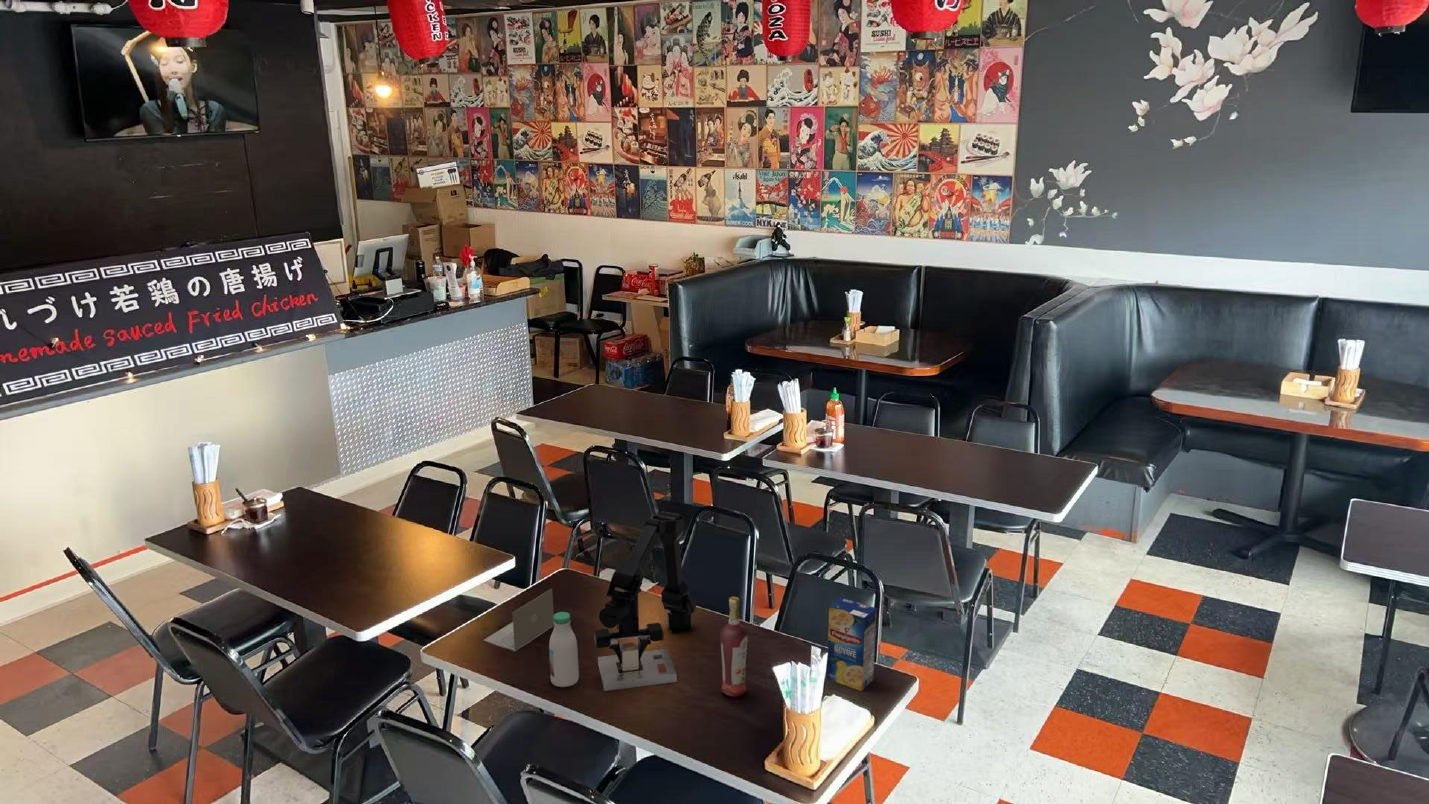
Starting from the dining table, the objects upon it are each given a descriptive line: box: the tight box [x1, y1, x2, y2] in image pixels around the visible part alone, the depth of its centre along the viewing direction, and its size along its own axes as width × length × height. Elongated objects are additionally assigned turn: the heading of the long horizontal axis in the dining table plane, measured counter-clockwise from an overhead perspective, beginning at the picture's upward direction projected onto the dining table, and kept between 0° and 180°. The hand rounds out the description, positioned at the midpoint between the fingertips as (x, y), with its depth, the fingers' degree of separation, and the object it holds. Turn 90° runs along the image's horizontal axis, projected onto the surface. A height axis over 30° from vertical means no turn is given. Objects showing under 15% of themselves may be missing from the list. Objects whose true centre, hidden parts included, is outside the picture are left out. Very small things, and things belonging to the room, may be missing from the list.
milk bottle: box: [548, 611, 580, 688], centre depth 278 cm, size 8×8×20 cm
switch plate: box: [597, 648, 678, 692], centre depth 284 cm, size 20×14×3 cm
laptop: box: [483, 588, 555, 652], centre depth 305 cm, size 18×12×13 cm
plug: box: [619, 641, 640, 672], centre depth 282 cm, size 4×4×7 cm
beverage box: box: [826, 597, 877, 692], centre depth 278 cm, size 7×11×22 cm, turn 54°
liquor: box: [719, 596, 749, 698], centre depth 271 cm, size 7×7×28 cm
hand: (629, 662), depth 283 cm, fingers closed on plug, 4 cm apart
